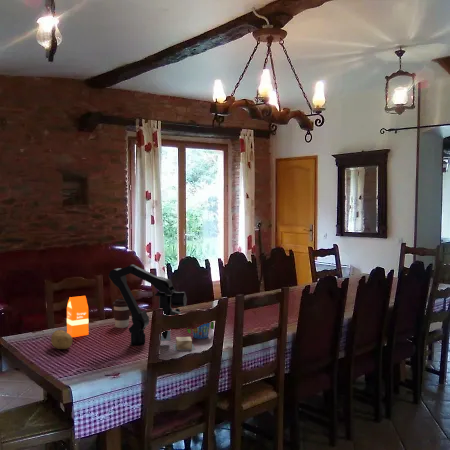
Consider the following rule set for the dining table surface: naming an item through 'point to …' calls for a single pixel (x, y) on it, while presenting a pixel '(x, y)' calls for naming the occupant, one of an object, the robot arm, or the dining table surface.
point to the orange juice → (77, 316)
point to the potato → (61, 339)
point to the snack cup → (201, 331)
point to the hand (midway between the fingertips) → (164, 337)
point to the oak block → (183, 343)
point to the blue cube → (166, 338)
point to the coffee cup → (121, 313)
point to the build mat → (183, 349)
